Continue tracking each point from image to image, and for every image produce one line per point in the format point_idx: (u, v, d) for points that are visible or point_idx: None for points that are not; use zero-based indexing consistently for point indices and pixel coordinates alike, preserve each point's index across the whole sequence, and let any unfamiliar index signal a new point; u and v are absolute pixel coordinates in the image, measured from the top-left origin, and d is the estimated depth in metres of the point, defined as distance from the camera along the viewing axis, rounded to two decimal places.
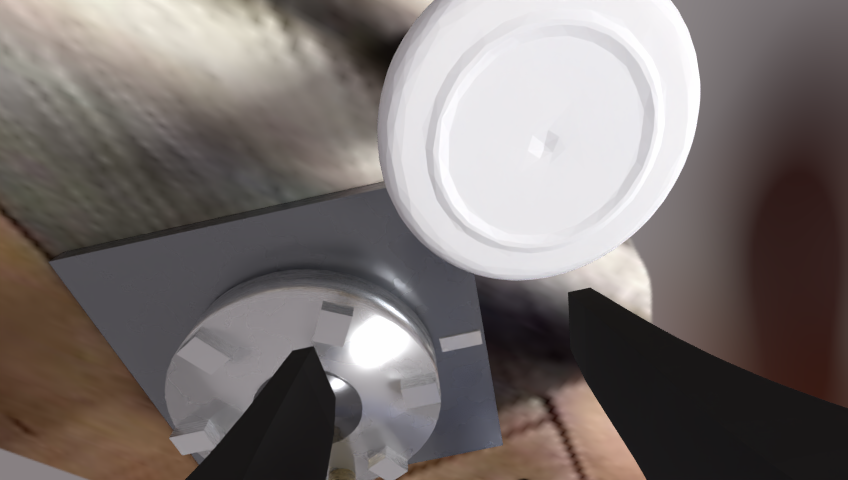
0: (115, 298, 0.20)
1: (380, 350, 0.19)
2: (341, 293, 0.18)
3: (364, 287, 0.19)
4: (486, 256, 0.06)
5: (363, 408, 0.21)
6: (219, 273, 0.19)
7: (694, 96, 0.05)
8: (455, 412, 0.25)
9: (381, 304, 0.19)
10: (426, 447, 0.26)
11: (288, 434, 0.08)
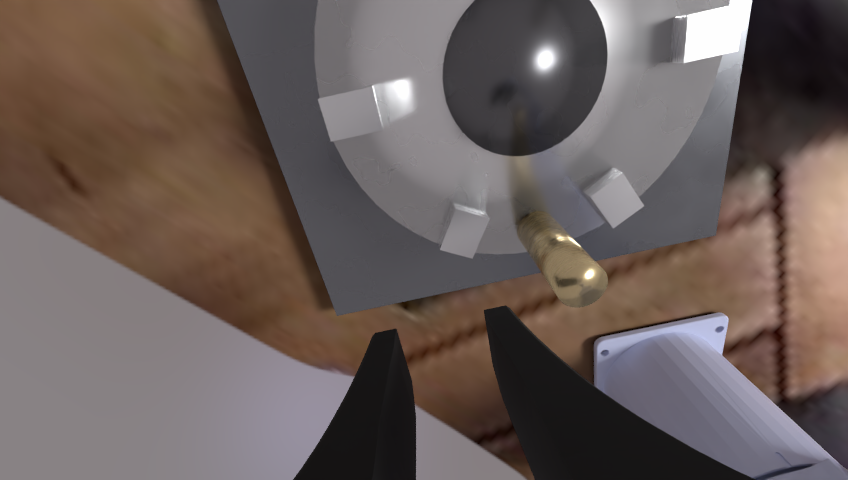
0: None
1: None
2: None
3: None
4: None
5: (601, 81, 0.14)
6: None
7: None
8: (670, 168, 0.18)
9: None
10: (616, 233, 0.19)
11: (392, 412, 0.08)
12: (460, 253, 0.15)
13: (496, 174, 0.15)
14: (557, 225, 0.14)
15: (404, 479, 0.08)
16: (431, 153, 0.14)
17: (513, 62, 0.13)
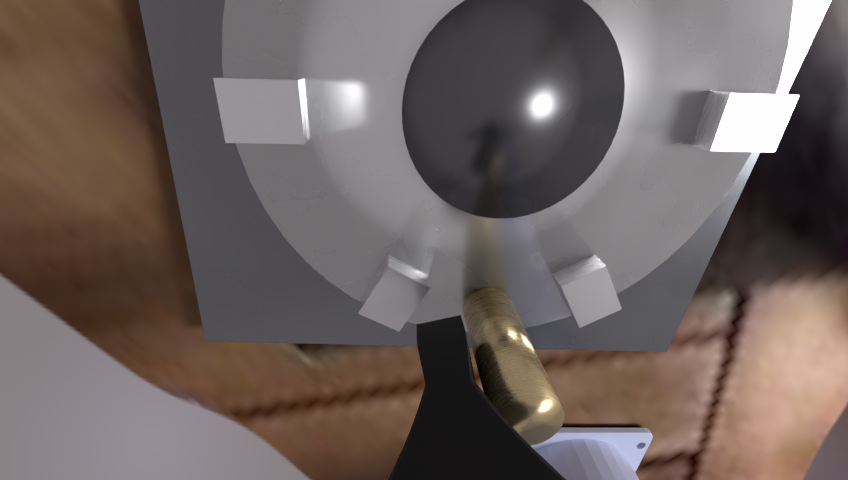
0: None
1: None
2: None
3: None
4: None
5: (606, 148, 0.10)
6: None
7: None
8: None
9: None
10: (565, 324, 0.16)
11: None
12: (384, 322, 0.12)
13: (450, 233, 0.11)
14: (513, 315, 0.11)
15: None
16: (371, 188, 0.10)
17: (501, 96, 0.09)
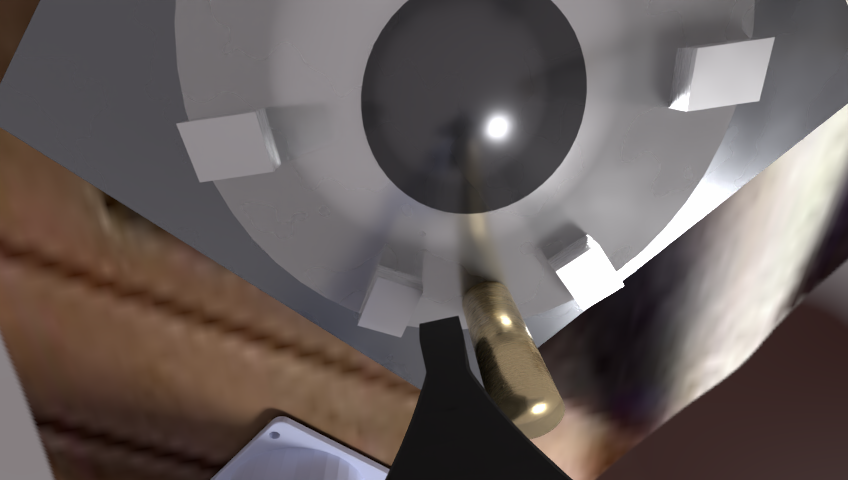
0: None
1: None
2: None
3: None
4: None
5: (577, 126, 0.10)
6: None
7: None
8: None
9: None
10: (392, 340, 0.16)
11: None
12: (385, 330, 0.12)
13: (436, 234, 0.11)
14: (509, 308, 0.11)
15: None
16: (349, 202, 0.11)
17: (458, 92, 0.09)
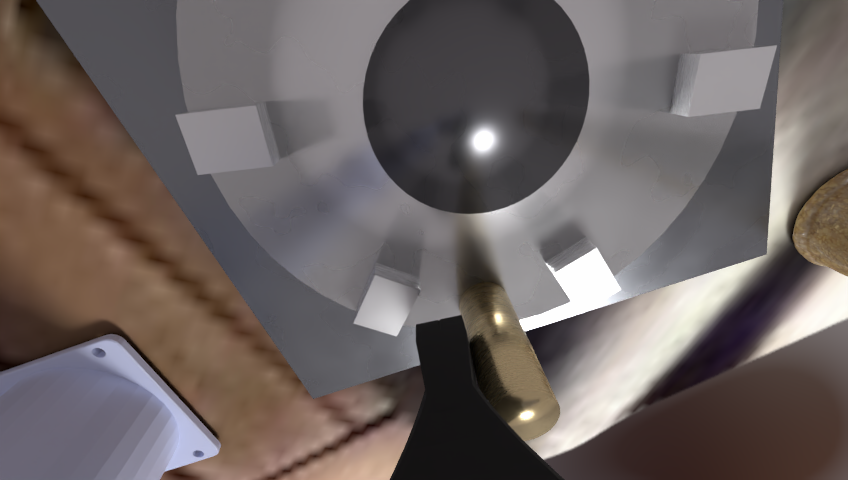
0: None
1: None
2: None
3: None
4: None
5: (579, 128, 0.10)
6: None
7: None
8: None
9: None
10: (284, 300, 0.15)
11: None
12: (381, 329, 0.12)
13: (434, 233, 0.11)
14: (506, 309, 0.11)
15: None
16: (348, 200, 0.11)
17: (461, 91, 0.09)
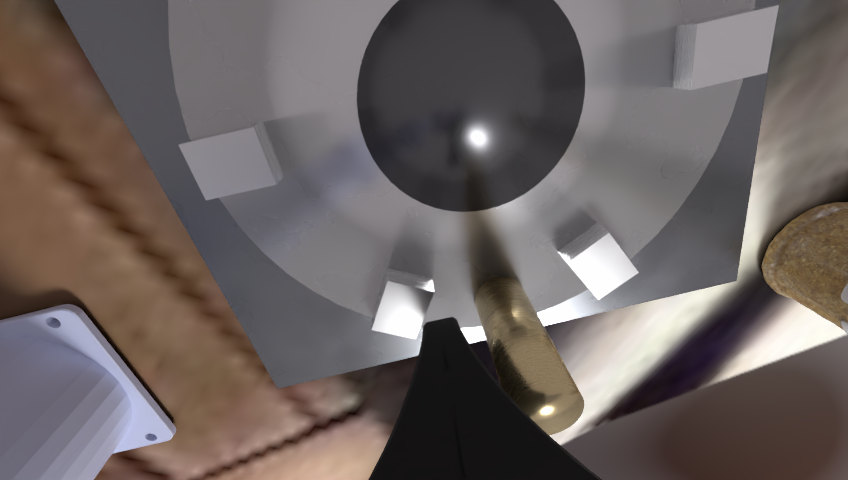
0: None
1: None
2: None
3: None
4: None
5: (579, 113, 0.10)
6: None
7: None
8: (350, 318, 0.16)
9: None
10: (256, 284, 0.15)
11: None
12: (399, 333, 0.12)
13: (442, 234, 0.11)
14: (522, 303, 0.11)
15: None
16: (353, 209, 0.11)
17: (454, 90, 0.09)
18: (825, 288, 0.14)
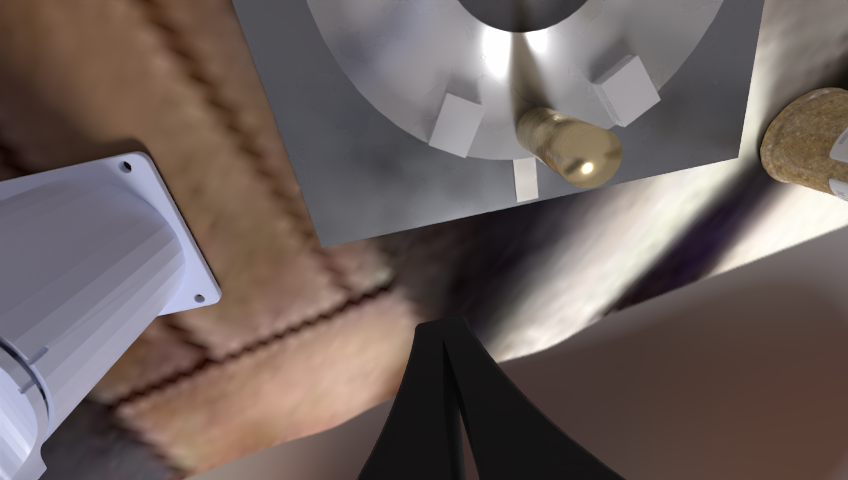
0: None
1: None
2: None
3: None
4: None
5: None
6: None
7: None
8: (394, 175, 0.17)
9: None
10: (314, 134, 0.16)
11: (448, 401, 0.08)
12: (451, 151, 0.13)
13: (494, 57, 0.13)
14: (562, 113, 0.13)
15: (460, 468, 0.08)
16: (421, 26, 0.12)
17: None
18: (815, 152, 0.16)
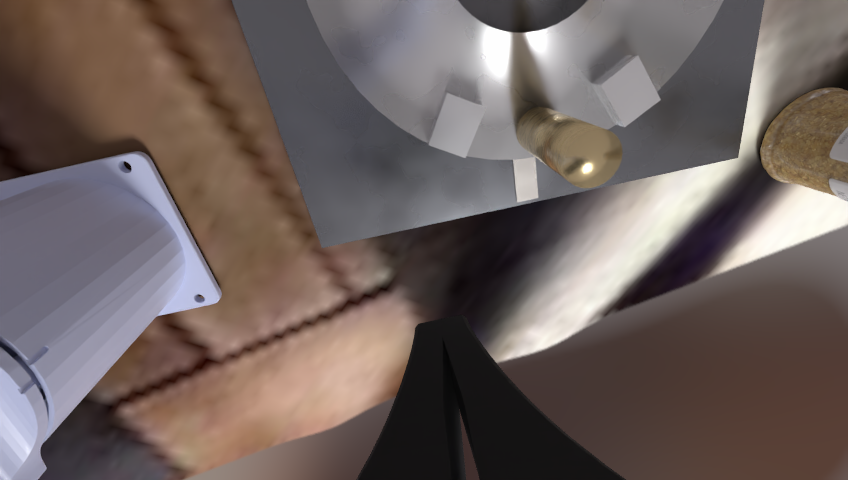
0: None
1: None
2: None
3: None
4: None
5: None
6: None
7: None
8: (394, 175, 0.17)
9: None
10: (314, 134, 0.16)
11: (448, 401, 0.08)
12: (451, 151, 0.13)
13: (494, 57, 0.13)
14: (562, 113, 0.13)
15: (460, 468, 0.08)
16: (421, 26, 0.12)
17: None
18: (816, 152, 0.16)
